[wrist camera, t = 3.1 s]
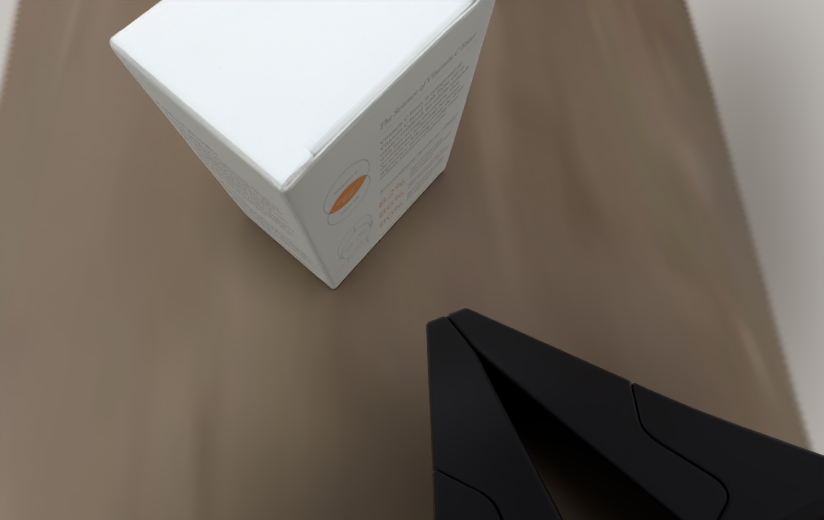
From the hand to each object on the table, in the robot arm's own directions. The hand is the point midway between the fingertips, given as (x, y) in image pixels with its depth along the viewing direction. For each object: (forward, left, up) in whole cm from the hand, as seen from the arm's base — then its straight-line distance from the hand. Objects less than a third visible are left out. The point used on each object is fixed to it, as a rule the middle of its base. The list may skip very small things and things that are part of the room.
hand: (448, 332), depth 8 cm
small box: (+8, +1, -10) cm, 13 cm away
